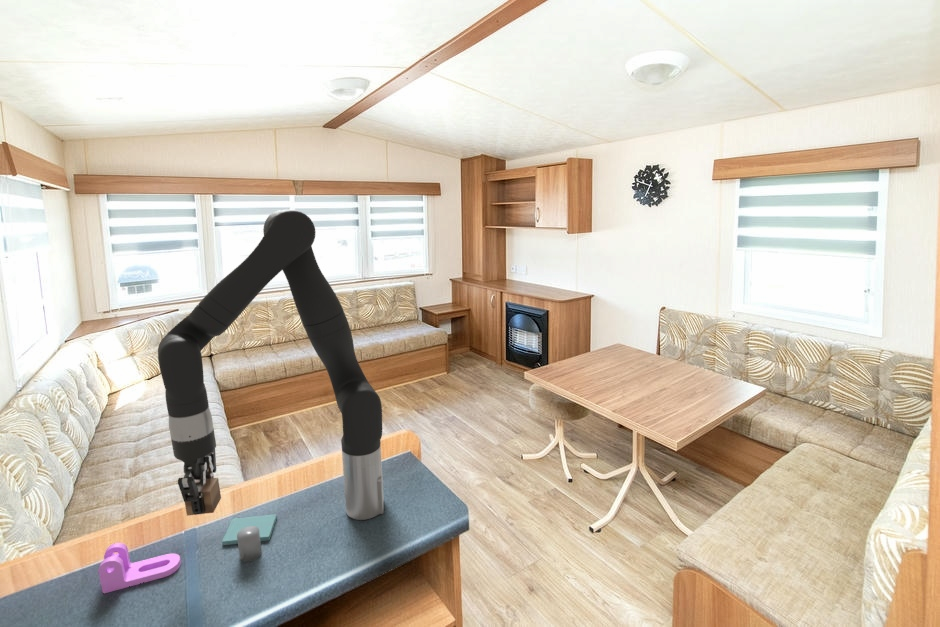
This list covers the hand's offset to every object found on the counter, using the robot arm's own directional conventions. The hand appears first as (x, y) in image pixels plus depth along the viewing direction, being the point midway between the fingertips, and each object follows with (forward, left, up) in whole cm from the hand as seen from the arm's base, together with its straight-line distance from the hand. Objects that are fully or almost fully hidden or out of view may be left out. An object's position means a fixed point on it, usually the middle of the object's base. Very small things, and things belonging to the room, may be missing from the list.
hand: (204, 504), depth 101 cm
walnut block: (0, 0, 0) cm, 0 cm away
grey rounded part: (-8, 0, -13) cm, 16 cm away
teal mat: (-6, -8, -13) cm, 17 cm away
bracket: (+12, +2, -14) cm, 19 cm away
